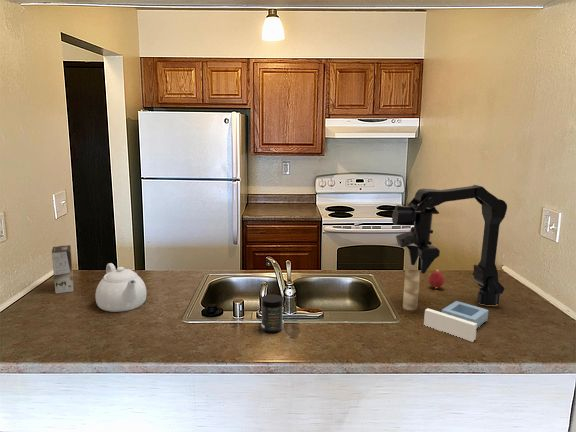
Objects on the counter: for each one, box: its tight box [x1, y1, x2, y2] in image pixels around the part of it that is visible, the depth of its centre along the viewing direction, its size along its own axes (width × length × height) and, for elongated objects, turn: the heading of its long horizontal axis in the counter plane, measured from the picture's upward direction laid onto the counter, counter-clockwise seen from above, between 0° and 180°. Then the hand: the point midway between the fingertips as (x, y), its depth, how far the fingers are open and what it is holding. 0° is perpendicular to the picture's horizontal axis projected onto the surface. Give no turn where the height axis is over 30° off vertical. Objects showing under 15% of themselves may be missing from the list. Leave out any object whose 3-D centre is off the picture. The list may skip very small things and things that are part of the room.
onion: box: [428, 269, 445, 288], centre depth 183 cm, size 6×6×8 cm
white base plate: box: [423, 307, 478, 343], centre depth 150 cm, size 20×16×6 cm
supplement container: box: [260, 293, 284, 334], centre depth 145 cm, size 7×7×10 cm
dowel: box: [402, 268, 421, 311], centre depth 162 cm, size 5×5×14 cm
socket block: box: [441, 300, 489, 329], centre depth 153 cm, size 11×11×4 cm
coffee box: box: [51, 244, 74, 294], centre depth 176 cm, size 9×6×16 cm
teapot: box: [95, 262, 147, 313], centre depth 164 cm, size 19×18×14 cm
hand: (417, 269), depth 162 cm, fingers open, 9 cm apart
